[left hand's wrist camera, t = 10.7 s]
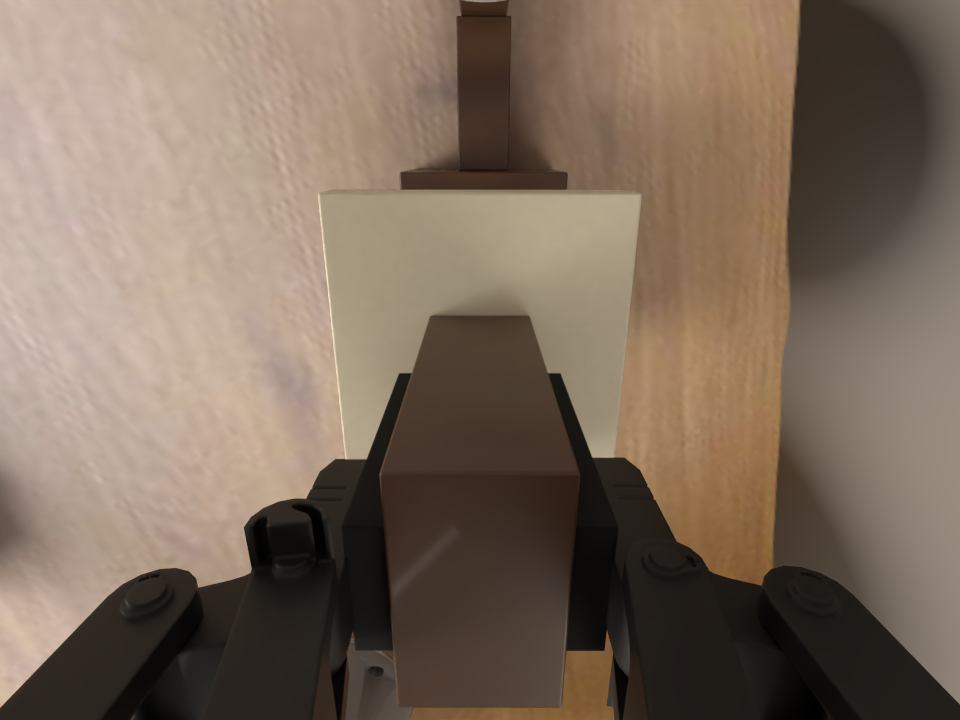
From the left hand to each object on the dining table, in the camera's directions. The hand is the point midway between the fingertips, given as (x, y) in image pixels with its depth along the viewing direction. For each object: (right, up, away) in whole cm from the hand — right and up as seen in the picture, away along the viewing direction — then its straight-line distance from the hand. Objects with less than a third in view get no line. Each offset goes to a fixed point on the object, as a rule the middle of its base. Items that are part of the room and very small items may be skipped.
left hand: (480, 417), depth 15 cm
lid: (0, +1, +3) cm, 3 cm away
